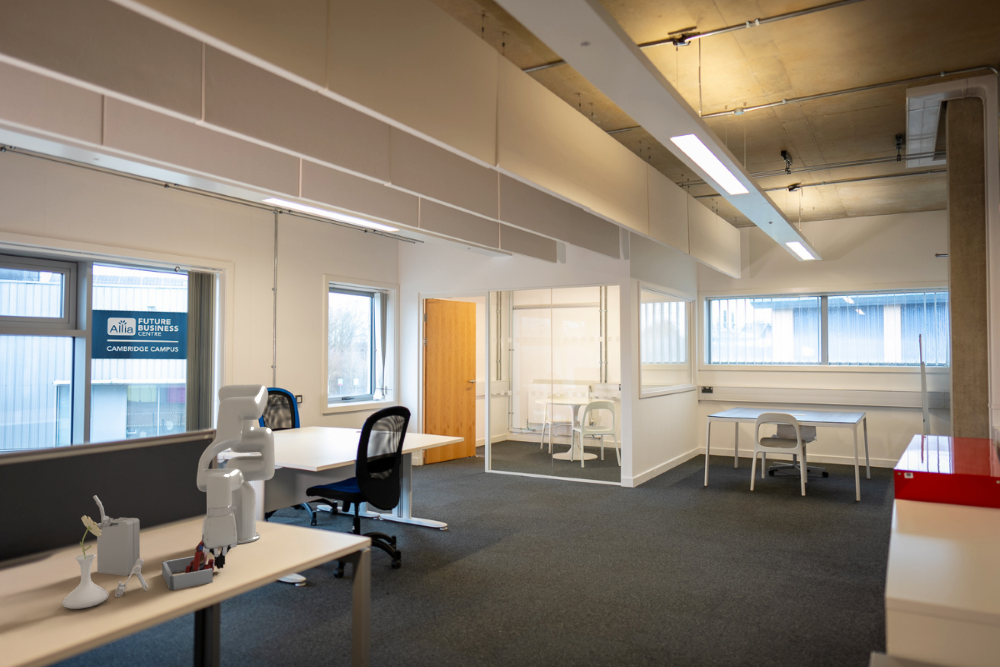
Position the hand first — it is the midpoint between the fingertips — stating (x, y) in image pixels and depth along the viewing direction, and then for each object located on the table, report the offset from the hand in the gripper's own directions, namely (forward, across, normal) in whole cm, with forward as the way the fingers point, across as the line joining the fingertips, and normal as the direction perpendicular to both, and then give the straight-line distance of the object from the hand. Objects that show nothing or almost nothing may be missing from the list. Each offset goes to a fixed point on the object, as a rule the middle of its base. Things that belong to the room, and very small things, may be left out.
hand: (219, 567), depth 216 cm
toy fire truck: (+2, +6, 0) cm, 6 cm away
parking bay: (+1, +9, 0) cm, 9 cm away
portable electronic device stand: (+2, +25, +2) cm, 26 cm away
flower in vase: (+2, +37, +6) cm, 38 cm away
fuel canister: (+2, +28, -21) cm, 35 cm away
